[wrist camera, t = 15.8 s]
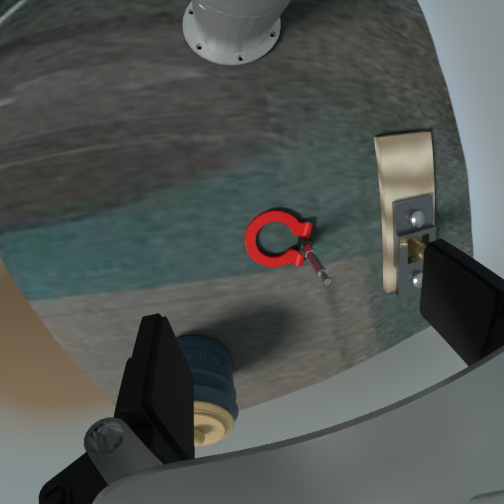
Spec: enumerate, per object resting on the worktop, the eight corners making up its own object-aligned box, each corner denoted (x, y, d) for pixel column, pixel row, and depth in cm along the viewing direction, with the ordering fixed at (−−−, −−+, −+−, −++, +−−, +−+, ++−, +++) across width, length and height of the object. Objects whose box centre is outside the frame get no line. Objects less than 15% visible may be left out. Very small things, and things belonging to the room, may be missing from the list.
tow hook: (239, 259, 46) (299, 268, 48) (245, 306, 34) (323, 314, 36) (250, 204, 43) (313, 215, 45) (261, 234, 31) (345, 248, 33)
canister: (146, 367, 52) (133, 447, 36) (182, 320, 49) (176, 405, 33) (206, 394, 56) (210, 471, 40) (246, 354, 53) (262, 435, 37)
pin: (404, 238, 46) (442, 265, 37) (418, 234, 47) (455, 259, 38) (405, 253, 48) (440, 282, 39) (417, 249, 48) (454, 276, 39)
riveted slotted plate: (391, 202, 44) (402, 207, 41) (429, 193, 44) (440, 198, 41) (392, 291, 50) (401, 299, 48) (426, 279, 51) (435, 286, 48)
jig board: (373, 136, 41) (378, 137, 40) (425, 131, 41) (430, 132, 40) (383, 288, 52) (387, 293, 50) (427, 273, 52) (431, 277, 51)
